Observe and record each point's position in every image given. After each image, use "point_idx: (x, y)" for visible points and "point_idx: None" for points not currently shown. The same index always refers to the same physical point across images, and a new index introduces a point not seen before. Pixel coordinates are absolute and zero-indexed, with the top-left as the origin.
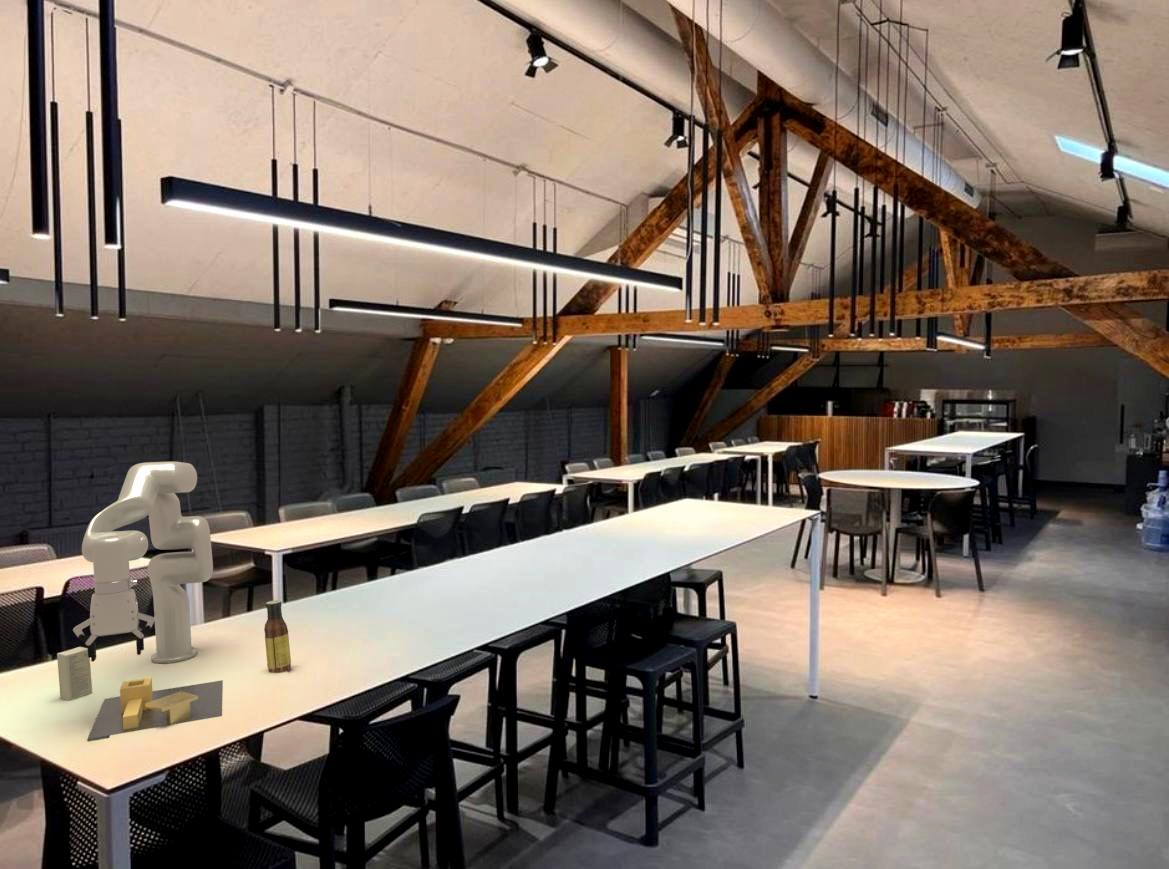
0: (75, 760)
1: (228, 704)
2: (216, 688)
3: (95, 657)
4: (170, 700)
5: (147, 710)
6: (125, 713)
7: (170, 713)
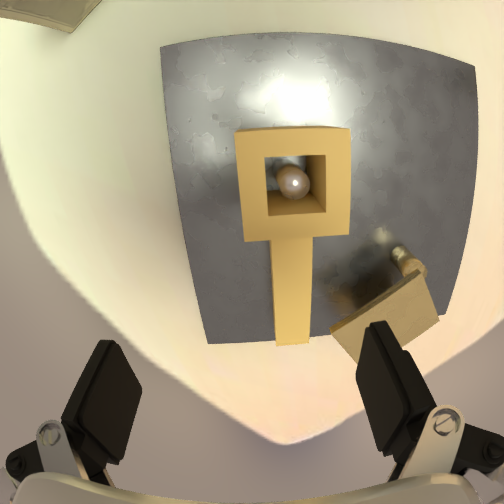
0: (217, 395)
1: (470, 243)
2: (468, 124)
3: (128, 376)
4: None
5: None
6: (279, 328)
7: None
